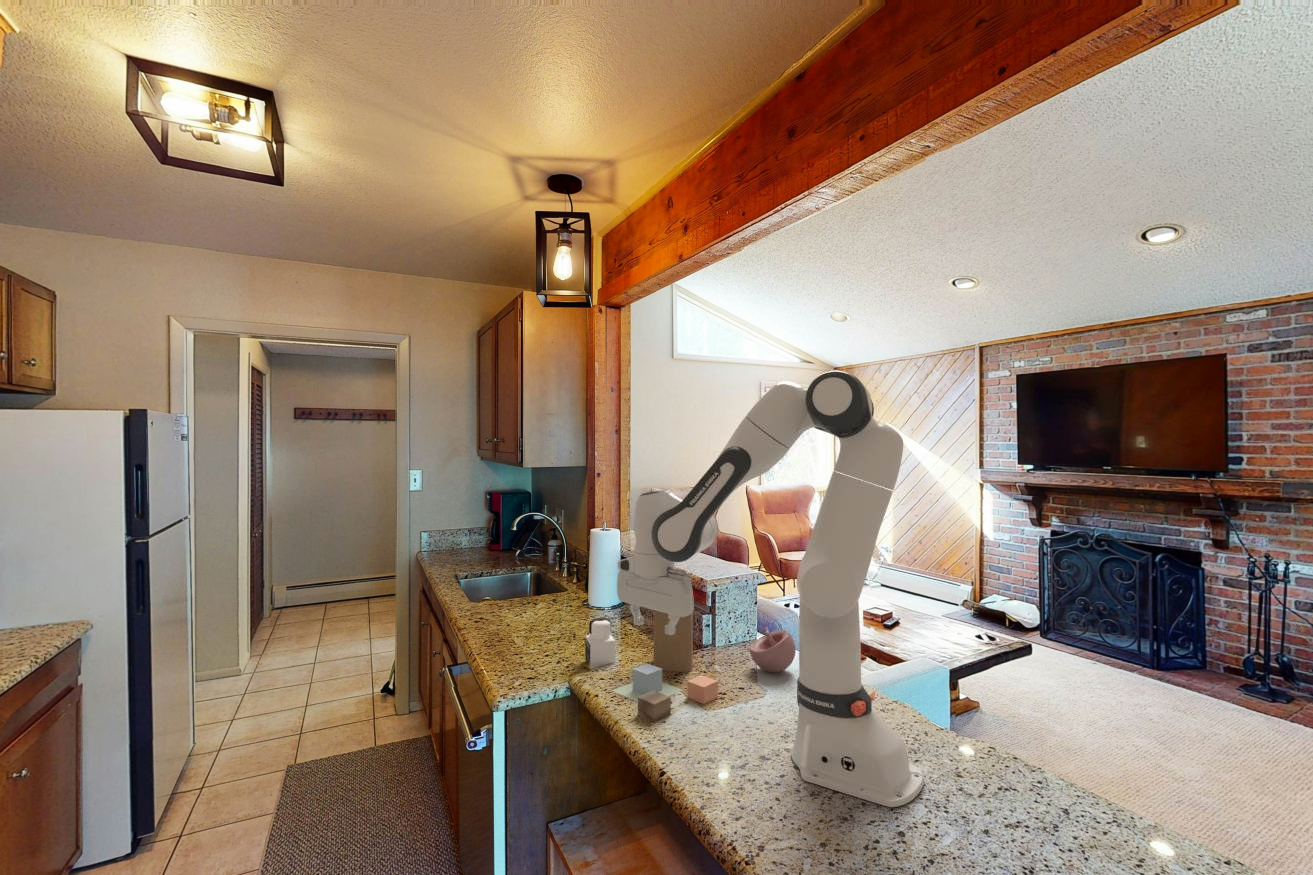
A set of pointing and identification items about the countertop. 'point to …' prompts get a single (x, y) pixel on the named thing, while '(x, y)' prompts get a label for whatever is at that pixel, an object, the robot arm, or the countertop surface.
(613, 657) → the medicine bottle
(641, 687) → the brick
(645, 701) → the brick
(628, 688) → the plate
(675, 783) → the countertop surface
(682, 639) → the block
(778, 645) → the mortar and pestle
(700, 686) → the brick
